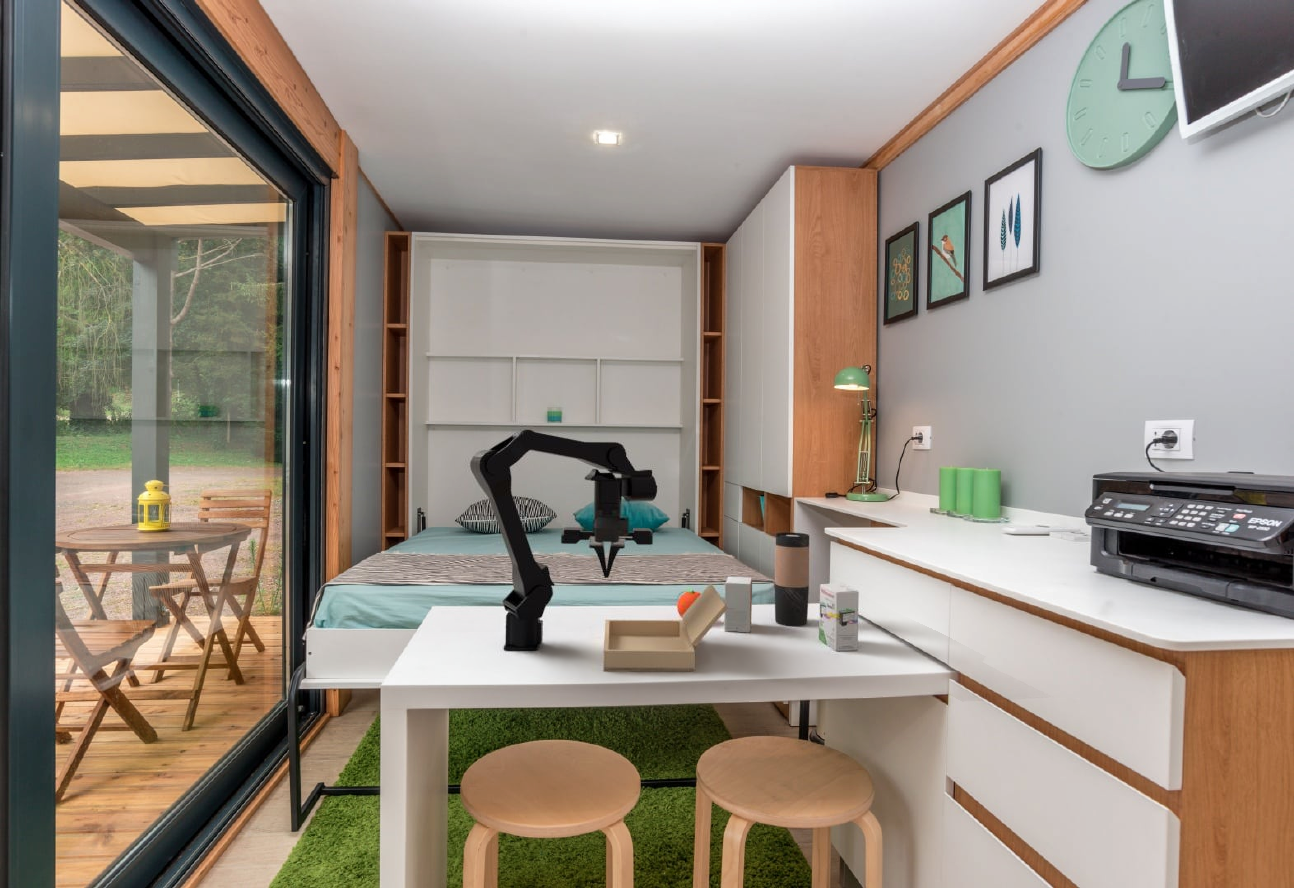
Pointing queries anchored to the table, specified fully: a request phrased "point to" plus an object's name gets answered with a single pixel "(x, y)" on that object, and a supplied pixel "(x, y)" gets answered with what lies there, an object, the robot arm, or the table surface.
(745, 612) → the small box
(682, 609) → the clementine
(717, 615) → the carton flap
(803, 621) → the travel mug
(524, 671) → the table surface
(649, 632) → the carton
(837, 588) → the ink box
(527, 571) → the robot arm
